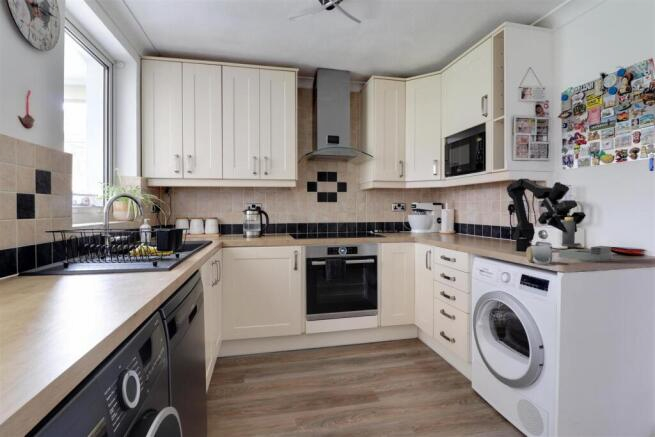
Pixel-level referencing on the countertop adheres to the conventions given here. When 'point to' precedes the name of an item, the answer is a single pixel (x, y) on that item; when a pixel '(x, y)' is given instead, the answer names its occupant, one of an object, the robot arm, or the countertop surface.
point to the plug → (568, 232)
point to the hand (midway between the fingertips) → (570, 231)
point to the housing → (588, 253)
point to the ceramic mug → (539, 254)
